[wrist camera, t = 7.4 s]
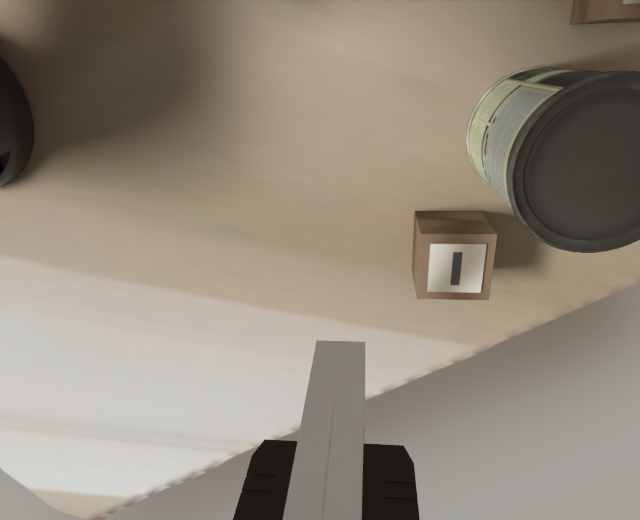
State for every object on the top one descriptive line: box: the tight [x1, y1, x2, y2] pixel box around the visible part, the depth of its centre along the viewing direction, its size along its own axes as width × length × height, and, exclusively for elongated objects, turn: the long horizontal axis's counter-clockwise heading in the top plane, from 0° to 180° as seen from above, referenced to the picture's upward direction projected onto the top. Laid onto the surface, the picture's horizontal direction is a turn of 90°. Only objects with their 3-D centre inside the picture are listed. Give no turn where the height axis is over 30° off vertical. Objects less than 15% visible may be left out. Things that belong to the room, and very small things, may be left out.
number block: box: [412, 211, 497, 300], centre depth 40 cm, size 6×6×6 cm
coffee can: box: [466, 67, 640, 253], centre depth 32 cm, size 10×10×14 cm
